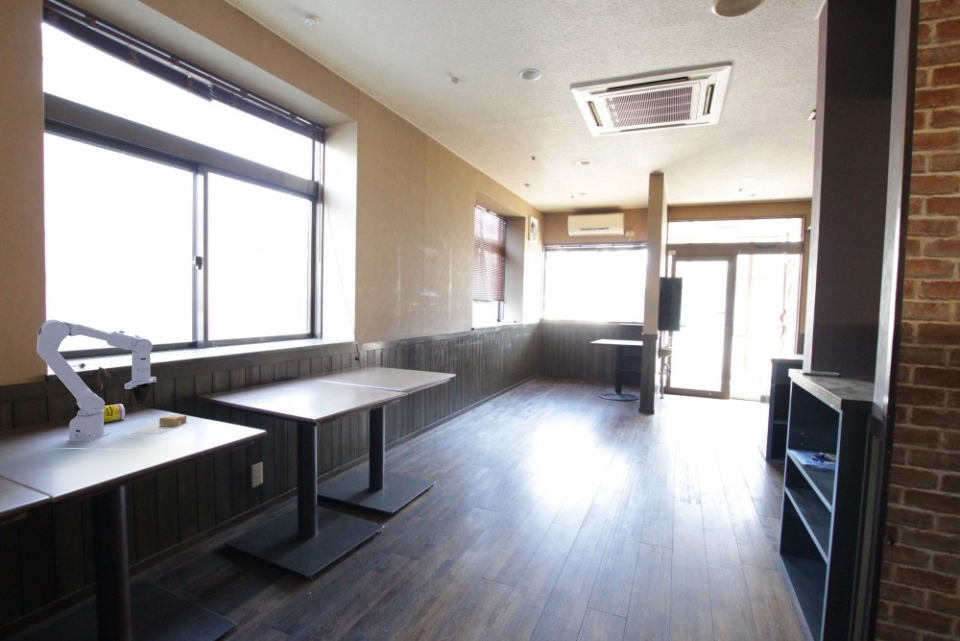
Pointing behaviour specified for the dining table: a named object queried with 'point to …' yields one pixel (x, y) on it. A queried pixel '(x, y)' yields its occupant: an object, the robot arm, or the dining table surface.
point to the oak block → (172, 420)
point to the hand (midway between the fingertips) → (141, 403)
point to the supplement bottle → (113, 412)
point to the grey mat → (154, 429)
